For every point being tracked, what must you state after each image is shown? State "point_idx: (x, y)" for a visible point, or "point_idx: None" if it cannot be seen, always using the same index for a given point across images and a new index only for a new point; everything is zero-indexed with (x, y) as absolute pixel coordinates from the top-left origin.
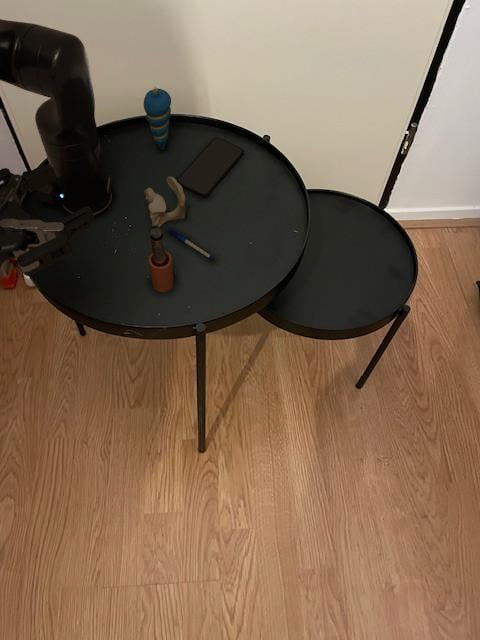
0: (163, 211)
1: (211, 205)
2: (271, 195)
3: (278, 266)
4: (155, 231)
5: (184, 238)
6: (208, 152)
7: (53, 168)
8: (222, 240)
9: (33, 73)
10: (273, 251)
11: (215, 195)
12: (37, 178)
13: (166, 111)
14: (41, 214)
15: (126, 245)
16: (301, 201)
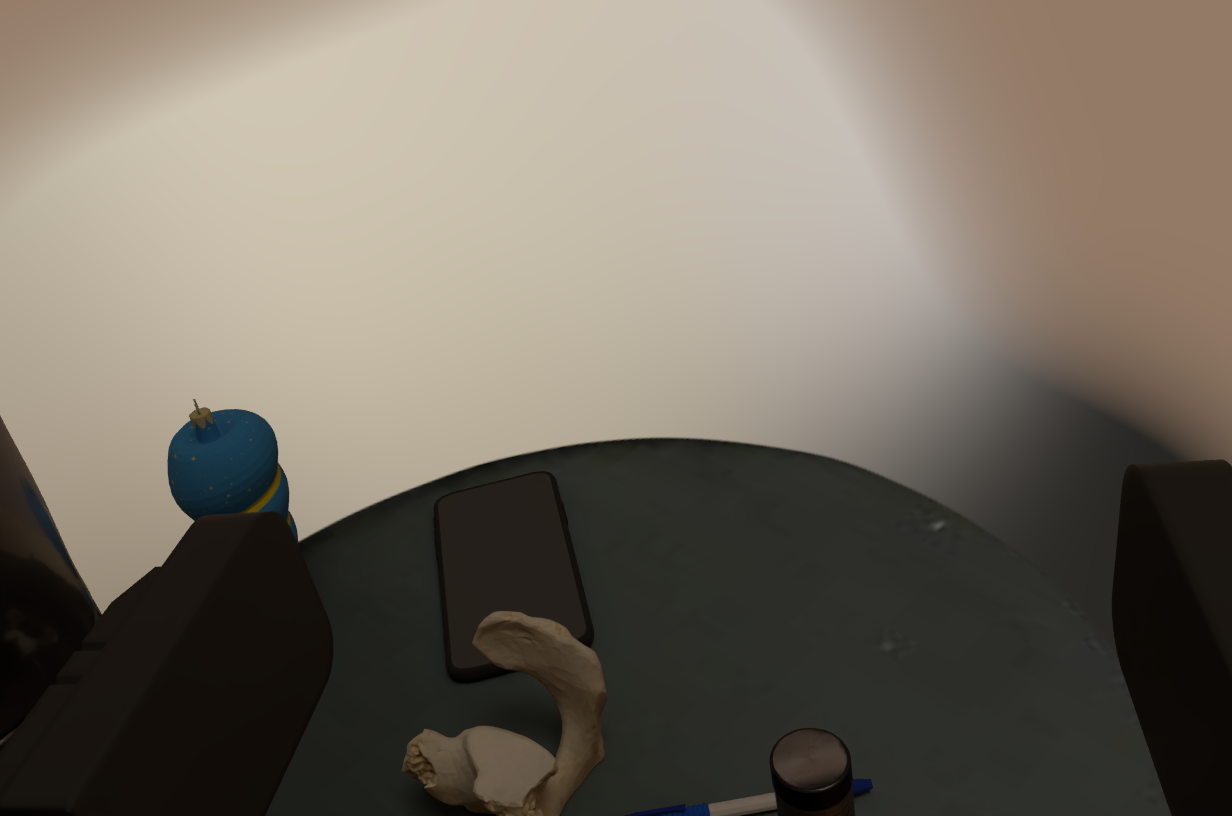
0: (553, 766)
1: (636, 652)
2: (752, 505)
3: (1051, 634)
4: (799, 757)
5: (697, 807)
6: (459, 540)
7: (285, 522)
8: (805, 710)
9: None
10: (974, 612)
11: (611, 620)
12: (192, 717)
13: (276, 464)
14: None
15: None
16: (839, 462)
